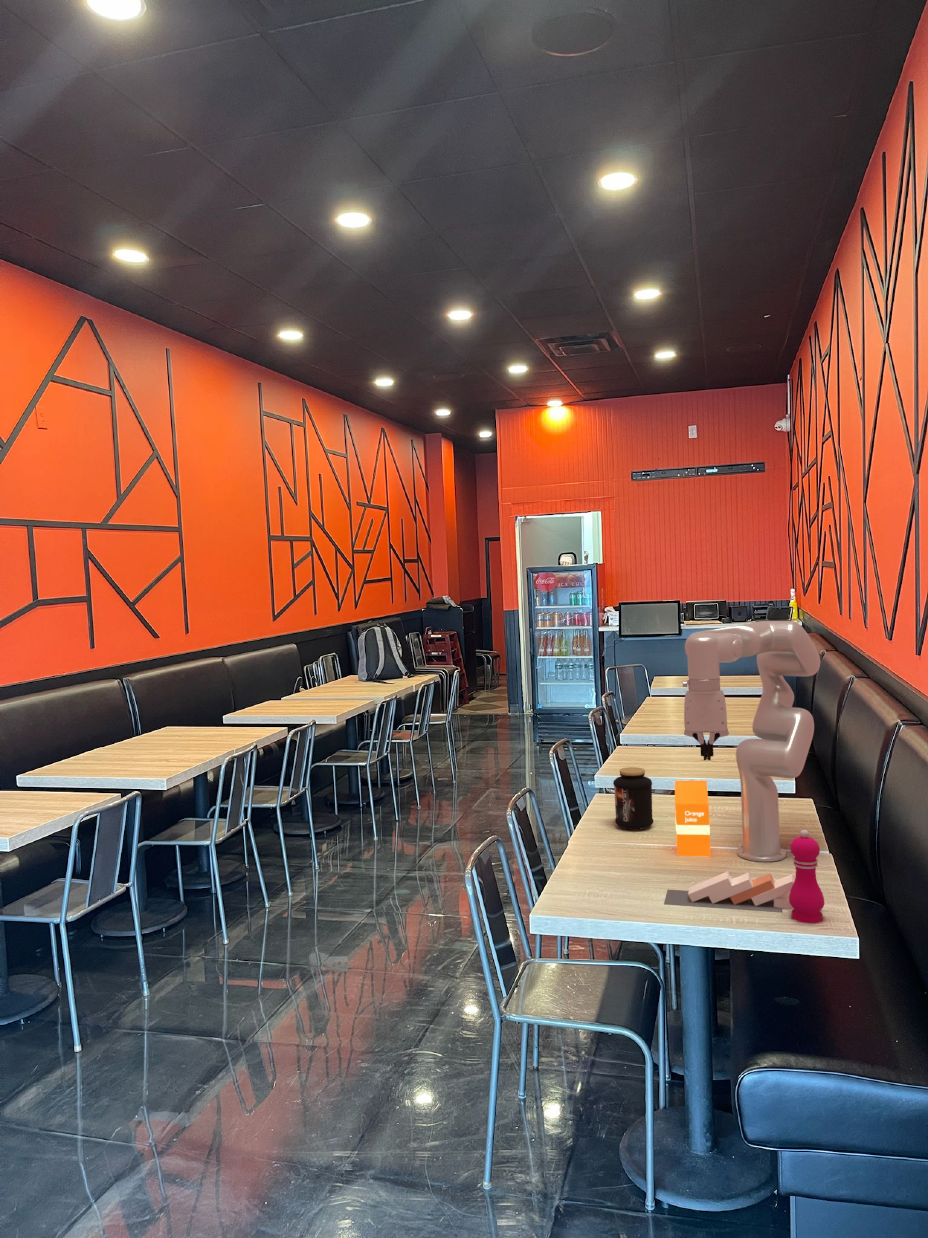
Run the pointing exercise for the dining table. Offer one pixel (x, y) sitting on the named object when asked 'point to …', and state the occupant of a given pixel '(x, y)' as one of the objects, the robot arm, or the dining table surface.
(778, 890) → the domino
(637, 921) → the dining table surface
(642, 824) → the container
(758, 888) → the domino
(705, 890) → the domino
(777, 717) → the robot arm
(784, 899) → the domino
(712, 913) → the dining table surface
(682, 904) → the mat
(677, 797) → the orange juice
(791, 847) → the pepper mill
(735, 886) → the domino
